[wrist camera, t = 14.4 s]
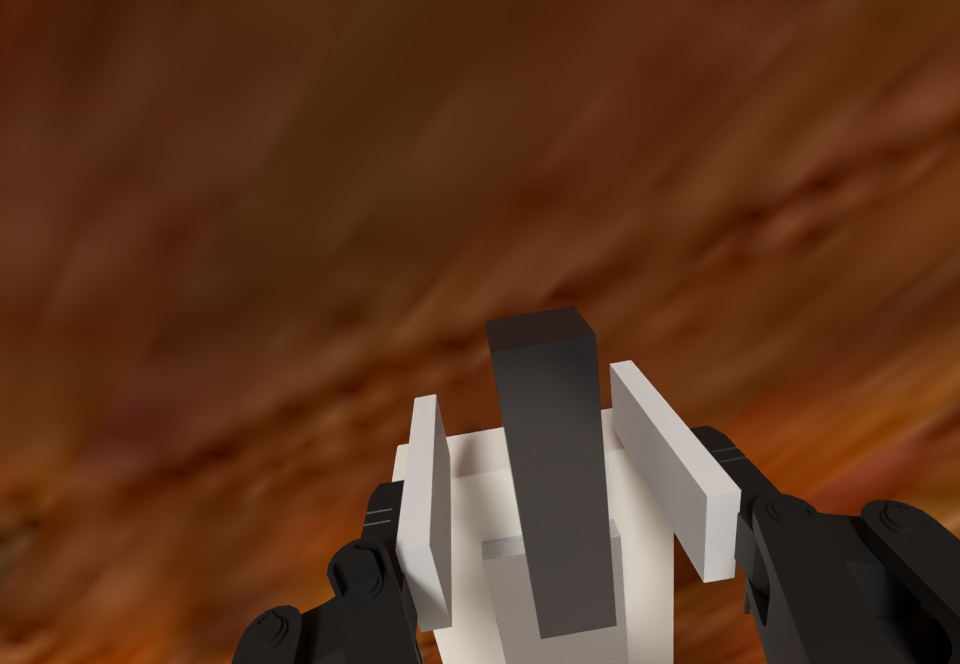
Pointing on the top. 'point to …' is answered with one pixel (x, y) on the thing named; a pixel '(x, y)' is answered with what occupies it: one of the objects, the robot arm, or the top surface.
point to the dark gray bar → (555, 498)
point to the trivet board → (494, 515)
